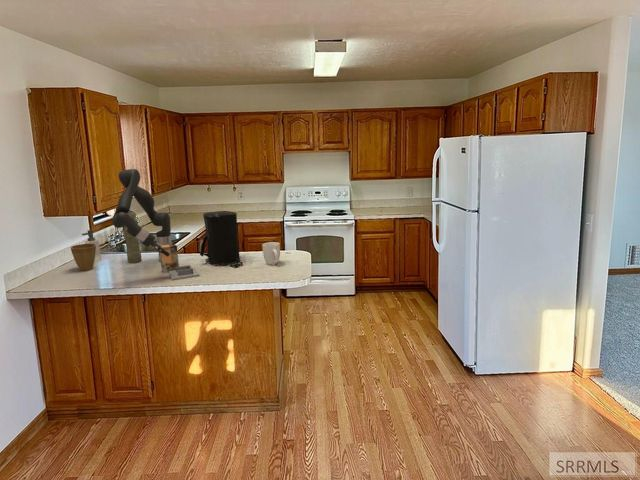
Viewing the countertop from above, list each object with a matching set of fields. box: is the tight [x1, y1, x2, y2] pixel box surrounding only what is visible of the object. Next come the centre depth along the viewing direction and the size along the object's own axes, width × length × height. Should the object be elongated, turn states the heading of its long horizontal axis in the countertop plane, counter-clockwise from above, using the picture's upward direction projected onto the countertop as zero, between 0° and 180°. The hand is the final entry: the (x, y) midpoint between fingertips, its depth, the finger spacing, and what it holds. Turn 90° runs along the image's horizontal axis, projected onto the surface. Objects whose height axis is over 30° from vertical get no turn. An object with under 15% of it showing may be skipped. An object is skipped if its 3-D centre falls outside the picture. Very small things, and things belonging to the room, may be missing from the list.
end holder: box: [168, 264, 200, 281], centre depth 287 cm, size 18×16×4 cm
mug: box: [262, 241, 281, 266], centre depth 300 cm, size 15×11×13 cm
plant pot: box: [70, 243, 96, 272], centre depth 308 cm, size 15×15×16 cm
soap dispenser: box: [81, 229, 102, 263], centre depth 328 cm, size 6×9×22 cm
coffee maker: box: [199, 210, 244, 268], centre depth 308 cm, size 23×32×34 cm
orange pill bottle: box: [161, 245, 172, 264], centre depth 281 cm, size 5×5×10 cm
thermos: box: [121, 210, 142, 264], centre depth 320 cm, size 9×12×35 cm
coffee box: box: [160, 244, 180, 274], centre depth 296 cm, size 9×6×16 cm
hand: (168, 254), depth 282 cm, fingers closed on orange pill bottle, 5 cm apart
